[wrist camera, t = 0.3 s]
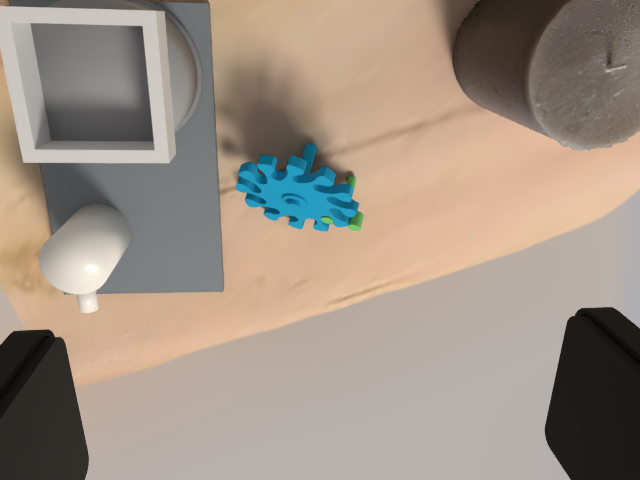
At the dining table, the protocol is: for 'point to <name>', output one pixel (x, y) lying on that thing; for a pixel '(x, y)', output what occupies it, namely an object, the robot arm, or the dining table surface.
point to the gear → (300, 192)
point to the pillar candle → (555, 67)
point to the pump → (85, 252)
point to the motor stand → (123, 128)
